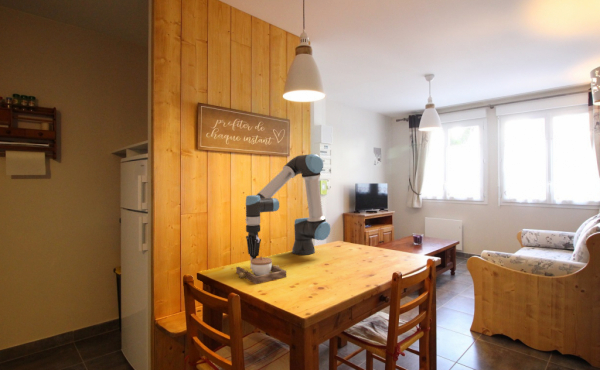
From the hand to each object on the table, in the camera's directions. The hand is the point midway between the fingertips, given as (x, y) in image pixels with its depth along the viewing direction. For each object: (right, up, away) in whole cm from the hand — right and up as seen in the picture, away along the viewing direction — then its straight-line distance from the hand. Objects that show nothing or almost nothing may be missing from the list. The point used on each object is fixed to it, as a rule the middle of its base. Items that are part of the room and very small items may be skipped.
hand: (253, 268), depth 159 cm
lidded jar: (+5, -2, -6) cm, 8 cm away
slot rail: (+4, -2, -5) cm, 7 cm away
